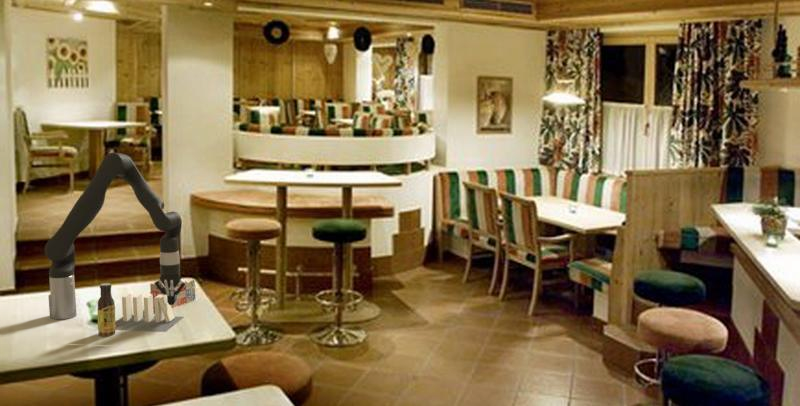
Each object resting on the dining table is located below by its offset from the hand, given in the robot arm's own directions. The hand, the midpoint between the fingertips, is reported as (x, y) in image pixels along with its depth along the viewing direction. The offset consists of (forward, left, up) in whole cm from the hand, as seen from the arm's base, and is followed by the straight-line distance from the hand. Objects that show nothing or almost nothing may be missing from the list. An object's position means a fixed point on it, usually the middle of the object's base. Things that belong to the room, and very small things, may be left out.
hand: (171, 304), depth 304 cm
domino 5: (-1, 0, -7) cm, 7 cm away
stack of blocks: (-8, +22, -8) cm, 25 cm away
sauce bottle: (-18, -18, -7) cm, 27 cm away
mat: (-10, -4, -7) cm, 13 cm away
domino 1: (-19, 0, -7) cm, 20 cm away
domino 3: (-10, 0, -7) cm, 12 cm away
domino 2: (-14, 0, -7) cm, 16 cm away
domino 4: (-5, 0, -7) cm, 9 cm away
